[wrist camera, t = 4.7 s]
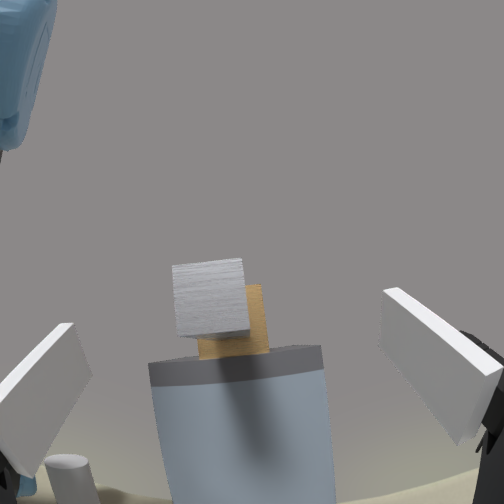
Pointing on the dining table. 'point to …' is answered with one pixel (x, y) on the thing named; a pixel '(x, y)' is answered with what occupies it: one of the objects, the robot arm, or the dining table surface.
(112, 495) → the dining table surface
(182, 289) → the block
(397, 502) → the dining table surface
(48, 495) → the dining table surface
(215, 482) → the block
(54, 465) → the white cylinder
